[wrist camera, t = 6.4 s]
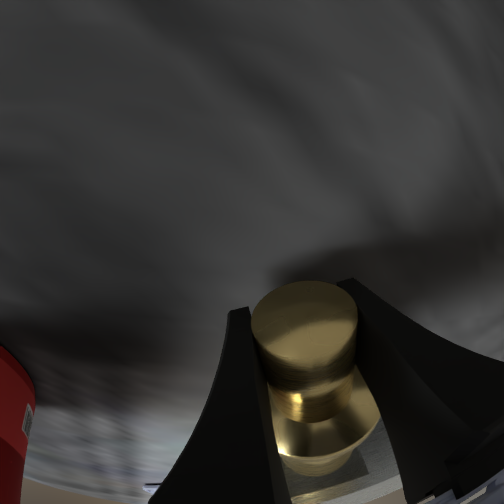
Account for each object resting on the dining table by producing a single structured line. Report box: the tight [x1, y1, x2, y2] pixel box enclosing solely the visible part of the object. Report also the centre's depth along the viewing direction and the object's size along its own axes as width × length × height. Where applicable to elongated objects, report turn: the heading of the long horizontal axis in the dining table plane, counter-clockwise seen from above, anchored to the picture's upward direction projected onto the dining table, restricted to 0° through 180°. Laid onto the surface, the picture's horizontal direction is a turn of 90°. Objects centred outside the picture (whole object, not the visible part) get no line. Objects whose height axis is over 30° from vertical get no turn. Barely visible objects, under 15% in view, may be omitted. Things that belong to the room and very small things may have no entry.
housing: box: [280, 416, 403, 504], centre depth 17 cm, size 8×12×6 cm, turn 101°
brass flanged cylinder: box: [251, 280, 381, 476], centre depth 11 cm, size 10×6×6 cm, turn 11°
